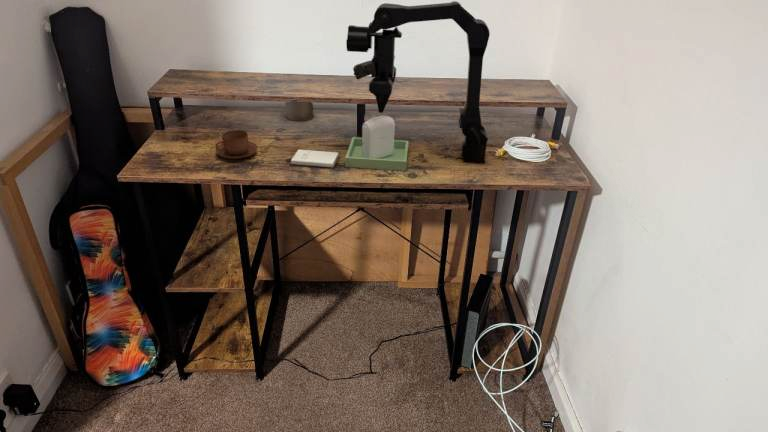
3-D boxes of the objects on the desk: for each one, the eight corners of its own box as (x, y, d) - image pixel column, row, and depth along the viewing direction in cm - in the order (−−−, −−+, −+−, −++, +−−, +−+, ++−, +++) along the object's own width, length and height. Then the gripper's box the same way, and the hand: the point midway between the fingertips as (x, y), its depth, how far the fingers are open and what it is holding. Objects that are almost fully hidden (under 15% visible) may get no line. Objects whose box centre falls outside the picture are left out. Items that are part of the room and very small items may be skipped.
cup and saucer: (237, 166, 147) (234, 146, 144) (207, 156, 152) (204, 136, 149) (266, 152, 156) (264, 133, 153) (237, 143, 161) (234, 124, 158)
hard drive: (333, 168, 148) (291, 164, 149) (339, 157, 155) (298, 153, 156) (333, 163, 147) (290, 159, 148) (339, 152, 154) (298, 148, 155)
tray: (408, 149, 161) (408, 140, 160) (405, 170, 148) (406, 161, 146) (352, 145, 162) (352, 137, 161) (345, 166, 149) (345, 157, 147)
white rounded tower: (367, 162, 151) (368, 122, 144) (359, 157, 154) (360, 118, 147) (395, 155, 156) (397, 116, 150) (387, 150, 159) (389, 112, 153)
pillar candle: (318, 114, 186) (316, 73, 178) (304, 123, 178) (302, 80, 170) (294, 110, 189) (292, 69, 181) (280, 118, 181) (277, 76, 173)
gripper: (359, 44, 151) (359, 95, 159) (350, 59, 135) (350, 116, 143) (397, 46, 151) (395, 98, 159) (392, 62, 135) (390, 118, 143)
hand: (382, 107), depth 151 cm, fingers open, 9 cm apart
